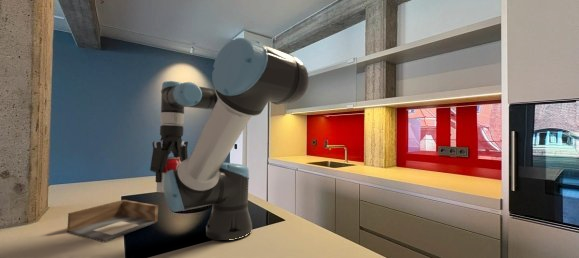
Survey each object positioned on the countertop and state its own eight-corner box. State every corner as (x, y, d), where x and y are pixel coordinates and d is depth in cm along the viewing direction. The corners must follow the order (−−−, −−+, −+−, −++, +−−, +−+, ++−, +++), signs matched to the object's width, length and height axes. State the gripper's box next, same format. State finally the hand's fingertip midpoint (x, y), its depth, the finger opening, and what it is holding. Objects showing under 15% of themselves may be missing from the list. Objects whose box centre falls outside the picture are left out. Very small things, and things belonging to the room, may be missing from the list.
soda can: (174, 193, 81) (175, 158, 81) (153, 193, 81) (155, 157, 81) (183, 189, 88) (185, 156, 88) (165, 188, 88) (166, 156, 88)
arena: (157, 221, 87) (158, 205, 87) (105, 242, 70) (106, 221, 70) (123, 215, 93) (123, 199, 93) (67, 232, 76) (68, 213, 76)
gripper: (184, 126, 96) (182, 183, 95) (138, 123, 77) (135, 194, 76) (199, 126, 93) (197, 185, 92) (155, 123, 74) (152, 196, 73)
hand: (169, 189), depth 84 cm, fingers closed on soda can, 7 cm apart
